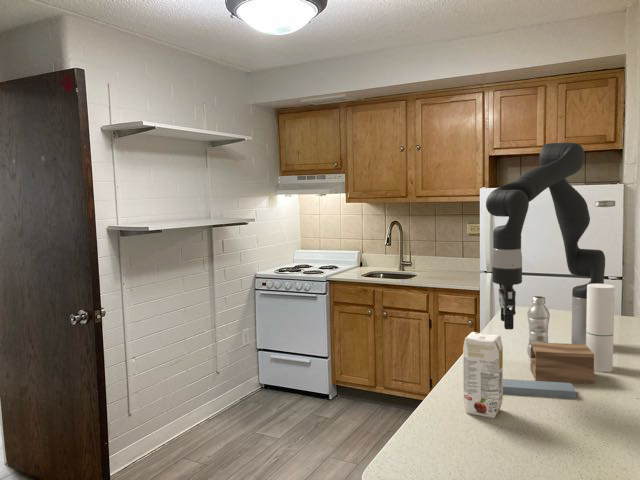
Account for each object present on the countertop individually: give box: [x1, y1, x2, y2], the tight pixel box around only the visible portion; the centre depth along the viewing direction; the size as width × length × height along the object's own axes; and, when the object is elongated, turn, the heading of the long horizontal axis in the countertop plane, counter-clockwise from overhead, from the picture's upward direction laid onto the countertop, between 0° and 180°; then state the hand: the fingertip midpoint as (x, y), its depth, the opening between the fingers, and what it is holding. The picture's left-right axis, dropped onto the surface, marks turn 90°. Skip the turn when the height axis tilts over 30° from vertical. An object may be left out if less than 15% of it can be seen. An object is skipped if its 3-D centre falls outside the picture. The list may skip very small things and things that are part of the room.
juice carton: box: [462, 331, 504, 419], centre depth 127 cm, size 8×9×19 cm
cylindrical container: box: [586, 283, 615, 373], centre depth 154 cm, size 7×7×25 cm
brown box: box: [529, 342, 595, 385], centre depth 149 cm, size 9×15×8 cm, turn 77°
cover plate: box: [503, 378, 577, 400], centre depth 139 cm, size 6×20×2 cm, turn 75°
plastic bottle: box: [526, 295, 551, 358], centre depth 164 cm, size 6×7×20 cm
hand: (506, 324), depth 139 cm, fingers open, 8 cm apart
